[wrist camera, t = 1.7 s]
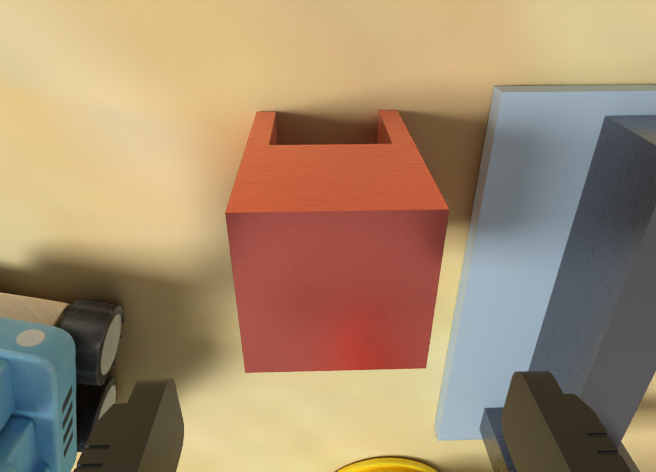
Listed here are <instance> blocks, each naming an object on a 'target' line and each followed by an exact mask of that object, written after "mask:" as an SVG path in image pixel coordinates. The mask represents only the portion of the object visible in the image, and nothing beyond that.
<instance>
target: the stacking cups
mask: <svg viewBox="0 0 656 472" xmlns="http://www.w3.org/2000/svg"><path fill="white" fill-rule="evenodd" d="M337 472H438V471H436V470H435V469H433V468H431V467H429V466H427V465H425V464H423V463H420V462H416V461H412V460H408V459H401V458H376V459H370V460H364V461H361V462H357V463H354V464H351V465H349V466H346V467H344V468H342V469H340V470H338V471H337Z"/></svg>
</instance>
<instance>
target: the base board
mask: <svg viewBox="0 0 656 472" xmlns="http://www.w3.org/2000/svg"><path fill="white" fill-rule="evenodd" d="M621 115H656V85H552V86H494V90H493V96H492V101H491V107H490V113H489V119H488V124H487V130H486V136H485V141H484V147H483V153H482V158H481V164H480V170H479V176H478V181H477V187H476V193H475V198H474V204H473V210H472V216H471V221H470V227H469V233H468V238H467V244H466V250H465V255H464V261H463V267H462V273H461V278H460V284H459V290H458V295H457V301H456V307H455V313H454V318H453V324H452V330H451V335H450V341H449V347H448V352H447V358H446V364H445V370H444V375H443V381H442V387H441V392H440V398H439V404H438V410H437V415H436V421H435V431H436V435H437V439H438V441H440V440H474V439H482V436H481V433H480V430H479V428H480V424H481V420H482V416H483V412H484V408H500V407H504V404H505V401H506V397H507V393H508V390H509V386H510V382H511V378H512V375H513V374H514V372H518V371H528V370H529V366H530V363H531V360H532V356H533V353H534V350H535V346H536V343H537V340H538V336H539V333H540V330H541V326H542V323H543V320H544V317H545V313H546V310H547V307H548V303H549V300H550V297H551V293H552V290H553V287H554V283H555V280H556V277H557V273H558V270H559V267H560V263H561V260H562V257H563V254H564V250H565V247H566V244H567V240H568V237H569V234H570V230H571V227H572V224H573V220H574V217H575V214H576V210H577V207H578V204H579V200H580V197H581V194H582V191H583V187H584V184H585V181H586V177H587V174H588V171H589V167H590V164H591V161H592V157H593V154H594V151H595V147H596V144H597V141H598V138H599V134H600V131H601V128H602V124H603V121H604V118H605V116H621Z"/></svg>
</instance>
